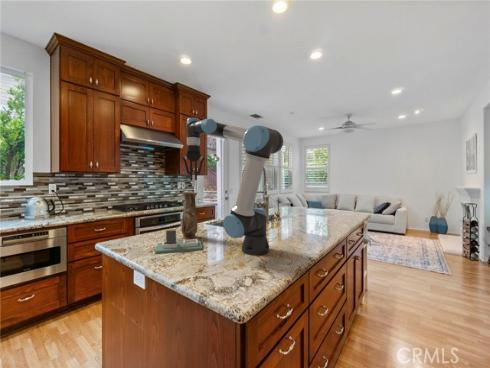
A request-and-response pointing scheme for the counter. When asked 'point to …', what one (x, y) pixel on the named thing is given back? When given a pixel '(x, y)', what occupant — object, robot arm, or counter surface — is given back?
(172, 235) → the plug
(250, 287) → the counter surface
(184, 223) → the vase
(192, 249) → the board
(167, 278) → the counter surface
